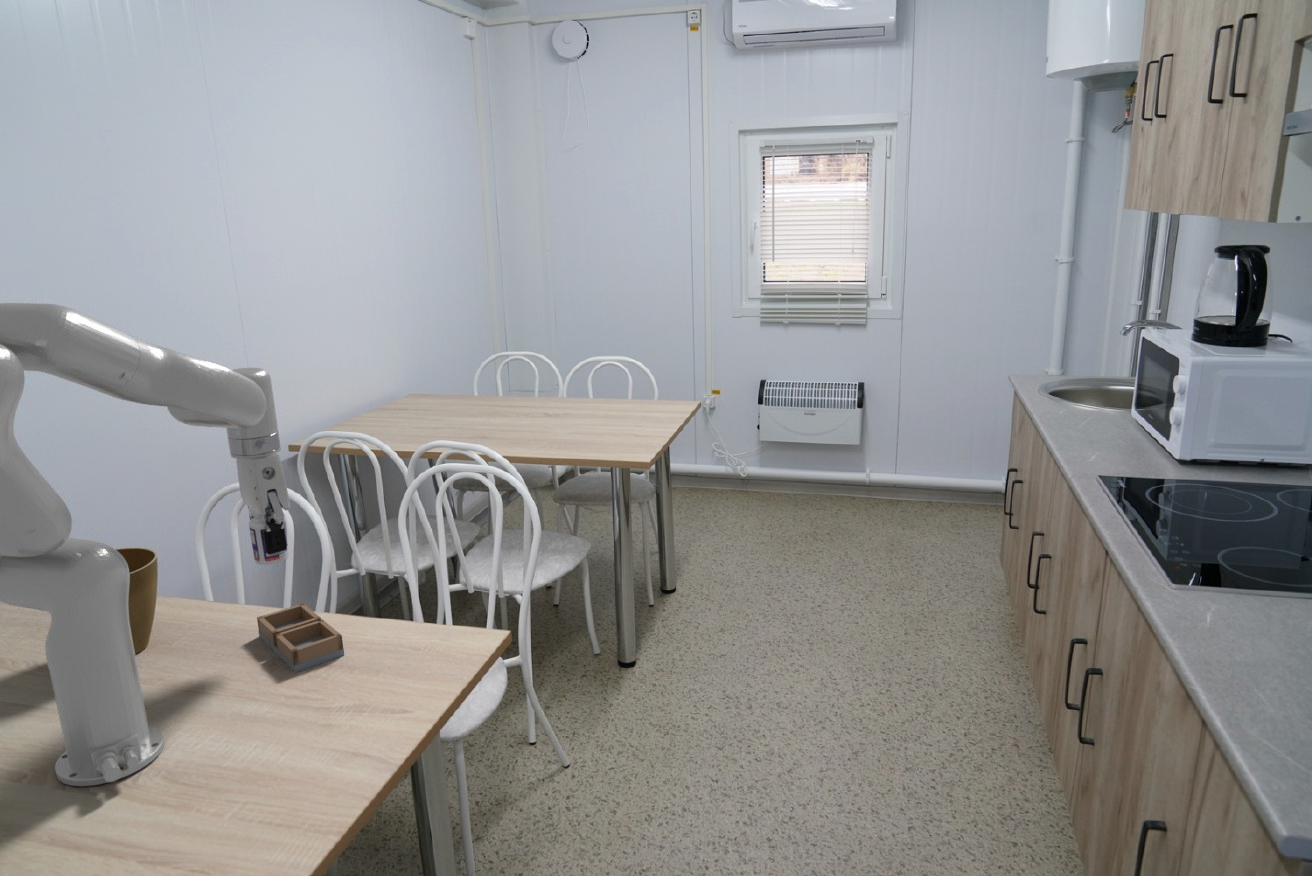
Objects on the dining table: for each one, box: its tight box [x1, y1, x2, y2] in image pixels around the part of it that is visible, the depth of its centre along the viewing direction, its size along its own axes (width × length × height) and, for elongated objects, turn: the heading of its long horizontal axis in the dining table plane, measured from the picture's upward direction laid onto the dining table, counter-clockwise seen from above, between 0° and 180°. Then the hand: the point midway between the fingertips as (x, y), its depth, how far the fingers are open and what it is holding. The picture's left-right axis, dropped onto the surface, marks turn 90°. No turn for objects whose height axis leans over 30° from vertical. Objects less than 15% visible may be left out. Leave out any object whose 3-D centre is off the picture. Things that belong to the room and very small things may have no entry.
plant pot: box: [114, 547, 159, 655], centre depth 143 cm, size 15×15×16 cm
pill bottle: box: [248, 508, 290, 566], centre depth 142 cm, size 5×5×10 cm
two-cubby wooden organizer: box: [256, 603, 345, 673], centre depth 145 cm, size 17×8×4 cm, turn 43°
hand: (270, 545), depth 142 cm, fingers closed on pill bottle, 5 cm apart
